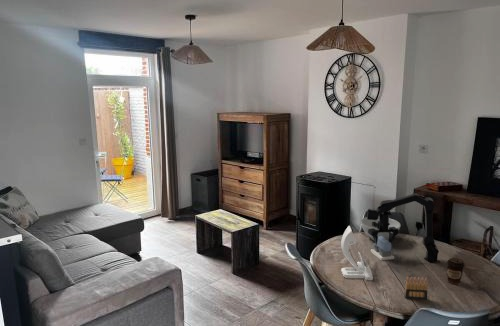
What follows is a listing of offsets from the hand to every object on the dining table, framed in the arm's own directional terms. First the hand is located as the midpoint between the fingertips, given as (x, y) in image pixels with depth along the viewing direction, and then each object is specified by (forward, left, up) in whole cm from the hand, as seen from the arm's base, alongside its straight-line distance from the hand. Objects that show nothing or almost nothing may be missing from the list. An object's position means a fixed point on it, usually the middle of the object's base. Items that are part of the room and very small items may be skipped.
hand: (382, 243), depth 234 cm
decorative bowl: (+25, -12, -8) cm, 29 cm away
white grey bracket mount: (0, 0, -8) cm, 8 cm away
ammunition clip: (-49, +9, -8) cm, 50 cm away
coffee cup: (-39, -21, -8) cm, 45 cm away
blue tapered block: (0, 0, -2) cm, 2 cm away
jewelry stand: (-14, +27, -8) cm, 31 cm away
